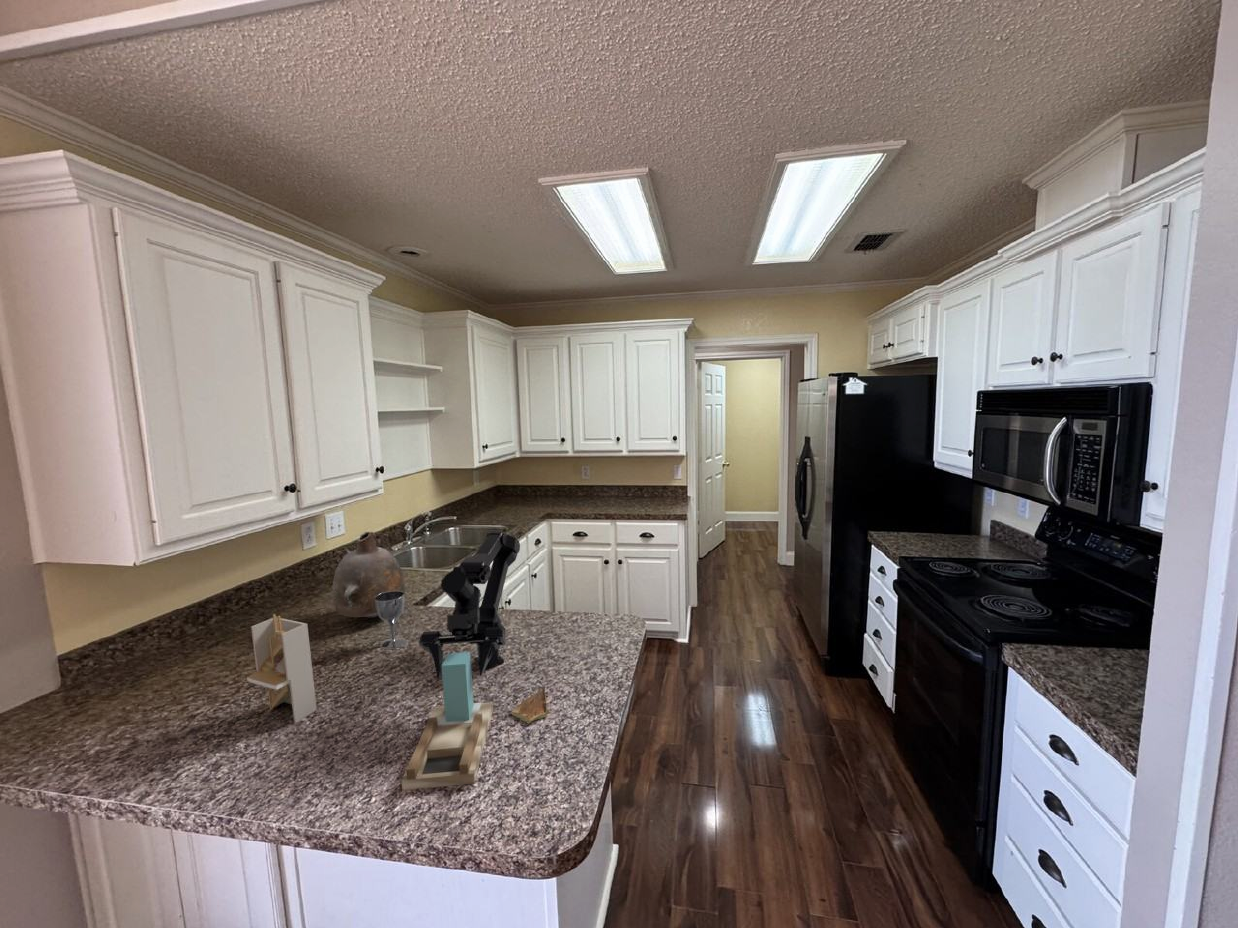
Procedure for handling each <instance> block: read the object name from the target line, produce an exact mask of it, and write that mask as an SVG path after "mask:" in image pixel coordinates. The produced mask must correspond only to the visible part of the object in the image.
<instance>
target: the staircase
mask: <svg viewBox="0 0 1238 928" xmlns="http://www.w3.org/2000/svg"><path fill="white" fill-rule="evenodd" d="M308 628H309V627H308V623H305V622H301V621H296V620H291V619H286V618H281V615H278V616H277V615H276V614H275V613H274V614H272V617H271V618H269V619H267V620H264V621H262V622H259V623H257V624H255V625H252V626H250V629H251V638H252V644H253V652H254V660H255V669H256V672H254V673H253V674H250V675H249V676H247V677H246V681H247V682H249V683H252V684H256V685H259V686H263V687H266V688H268V689H267V692H268V703H269V710H270V711H273V710H274V708H276V707H278V706H279V705H281V704H284V703H286V704H290V705H291V707H292V716H293V723H295V724H297V723H299V722H300V721H301V720H303V719H304V718H306V717H307V716H310V715H311V714H312V713H314V712H315V711H317V708H318V707H317V701H316V690H315V682H314V673H313V672H314V671H313V665H312V656H311V654H312V653H311V645H310V638H309V636H310V635H309V629H308ZM276 667H277V669H276Z"/></svg>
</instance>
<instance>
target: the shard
mask: <svg viewBox="0 0 1238 928" xmlns="http://www.w3.org/2000/svg"><path fill="white" fill-rule="evenodd" d="M545 691H546V689H545V687H542V689H540V690H538V692H536V693H535V694H533V695H531V696H529V697H528V698H527V699H525V700H523V701H522V702H520V703H519V704H518V705H517V706H515V708H513V709H512V711H511V715H512V716H513V717H515V718H518V719H519V720H522V721H523V722H525V723H527V724H528V725H529V724H530V723H532V722H533V721H536V720H539V719H544V718H547V717H548V715H549V714H548V707H547V697H546V696H547V695H546V692H545Z"/></svg>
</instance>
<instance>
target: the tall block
mask: <svg viewBox="0 0 1238 928" xmlns="http://www.w3.org/2000/svg"><path fill="white" fill-rule="evenodd" d="M472 673H473V672H472V659H471V652H470V651H468V652H455V653H447V654H446V655H445V658H444V659H443V662H442V673H441V678H442V691H443V703H444V705H443V706H445V719H446V722H451V721H463V720H469V719H470V716H471V713H472V710H473V707H474V703H475V702H474V687H473V674H472Z"/></svg>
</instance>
